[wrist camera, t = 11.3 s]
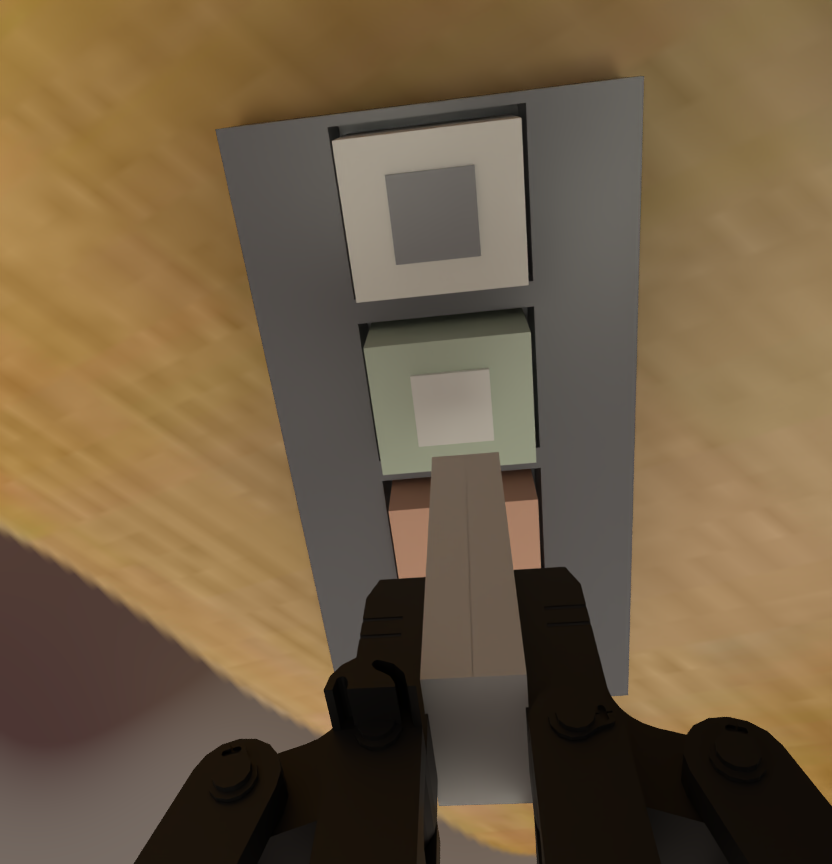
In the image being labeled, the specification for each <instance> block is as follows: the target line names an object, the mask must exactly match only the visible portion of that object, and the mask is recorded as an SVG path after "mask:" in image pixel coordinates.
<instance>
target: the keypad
mask: <svg viewBox="0 0 832 864" xmlns="http://www.w3.org/2000/svg"><path fill="white" fill-rule="evenodd" d="M643 97H644V76H637V77H625V78H616V79H608V80H600V81H592V82H584V83H576V84H568V85H560V86H552V87H544V88H536V89H528V90H520V91H512V92H504V93H496V94H488V95H480V96H472V97H464V98H456V99H448V100H440V101H432V102H424V103H416V104H408V105H400V106H392V107H384V108H376V109H368V110H360V111H352V112H344V113H336V114H328V115H320V116H312V117H304V118H296V119H288V120H280V121H272V122H264V123H256V124H248V125H240V126H234V127H228V128H222V129H215V130H216V134H217V139H218V143H219V148H220V153H221V157H222V162H223V166H224V171H225V175H226V180H227V185H228V189H229V194H230V198H231V203H232V207H233V212H234V216H235V221H236V226H237V230H238V235H239V239H240V244H241V248H242V253H243V258H244V262H245V267H246V271H247V276H248V280H249V285H250V289H251V294H252V299H253V303H254V308H255V312H256V317H257V321H258V326H259V331H260V335H261V340H262V344H263V349H264V353H265V358H266V362H267V367H268V372H269V376H270V381H271V385H272V390H273V394H274V399H275V404H276V408H277V413H278V417H279V422H280V426H281V431H282V435H283V440H284V445H285V449H286V454H287V458H288V463H289V467H290V472H291V477H292V481H293V486H294V490H295V495H296V499H297V504H298V508H299V513H300V518H301V522H302V527H303V531H304V536H305V540H306V545H307V550H308V554H309V559H310V563H311V568H312V572H313V577H314V582H315V586H316V591H317V595H318V600H319V604H320V609H321V613H322V618H323V623H324V627H325V632H326V636H327V641H328V645H329V650H330V655H331V659H332V664H333V668H334V672H335V671H336V670H337V669H338V668H339V667H340V666H341V665H342V664H344V663H346V662H348V661H350V660H352V659H354V658H356V656H357V650H358V644H359V639H360V632H361V626H362V623H363V614H364V608H365V602H366V598H367V596H368V595H369V594H370V592H371V591H372V590H373V588H374V587H375V586H376V584H377V583H378V582H379V580H384V579H399V576H398V570H397V563H396V557H395V550H394V544H393V537H392V531H391V524H390V518H389V503H390V496H391V488H392V480H399V479H411V478H423V477H431V471H428V472H415V473H403V474H391V475H383V472H382V466H381V459H380V453H379V446H378V440H377V433H376V427H375V420H374V414H373V407H372V401H371V394H370V387H369V381H368V374H367V368H366V361H365V355H364V345H365V342H366V338H367V335H368V332H369V329H370V325H371V323H373V322H383V321H393V320H403V319H413V318H423V317H433V316H443V315H453V314H463V313H473V312H483V311H492V310H502V309H512V308H522V310H523V312H524V315H525V318H526V320H527V323H528V326H529V329H530V331H531V350H532V373H533V396H534V419H535V442H536V463H525V464H513V465H500V466H501V471H509V470H521V469H531V472H532V476H533V480H534V485H535V489H536V493H537V497H538V512H539V535H540V558H541V568H550V567H566V568H567V569H568V570H569V571H570V573H571V574H572V575H573V576H574V577H575V578H576V579H577V580H578V581H579V582H580V583H581V587H582V590H583V594H584V598H585V602H586V608H587V610H588V614H589V618H590V623H591V626H592V629H593V633H594V637H595V641H596V645H597V649H598V653H599V657H600V661H601V665H602V668H603V672H604V676H605V680H606V684H607V687H608V690H609V692H610V695H611V696H622V695H628V675H629V636H630V598H631V559H632V521H633V482H634V444H635V405H636V367H637V328H638V289H639V251H640V212H641V174H642V135H643ZM504 114H511V115H515V116H518V117H521V119H522V142H523V165H524V188H525V211H526V234H527V257H528V280H529V285H525V286H516V287H506V288H496V289H486V290H477V291H467V292H457V293H448V294H438V295H428V296H418V297H409V298H399V299H389V300H379V301H370V302H360V303H356V296H355V290H354V283H353V277H352V270H351V264H350V257H349V251H348V244H347V238H346V231H345V225H344V218H343V212H342V205H341V199H340V192H339V186H338V179H337V172H336V166H335V159H334V153H333V146H332V140H335V139H337V138H339V137H342V136H344V135H346V134H349V133H357V132H365V131H374V130H382V129H390V128H398V127H406V126H414V125H423V124H431V123H439V122H447V121H455V120H463V119H472V118H480V117H488V116H496V115H504Z"/></svg>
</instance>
